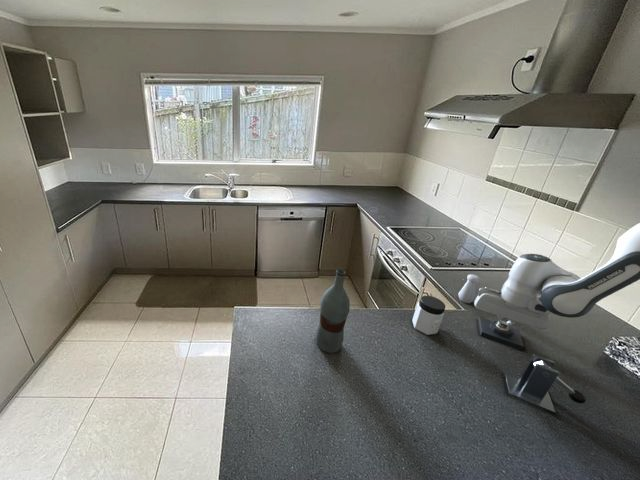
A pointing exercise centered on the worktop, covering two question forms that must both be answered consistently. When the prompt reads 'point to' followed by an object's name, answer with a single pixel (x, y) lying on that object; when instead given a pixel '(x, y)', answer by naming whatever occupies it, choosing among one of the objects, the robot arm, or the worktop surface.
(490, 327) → the button housing
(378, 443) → the worktop surface
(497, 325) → the button
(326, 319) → the bottle
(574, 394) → the toaster lever
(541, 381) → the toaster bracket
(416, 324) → the jar
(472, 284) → the salt shaker
